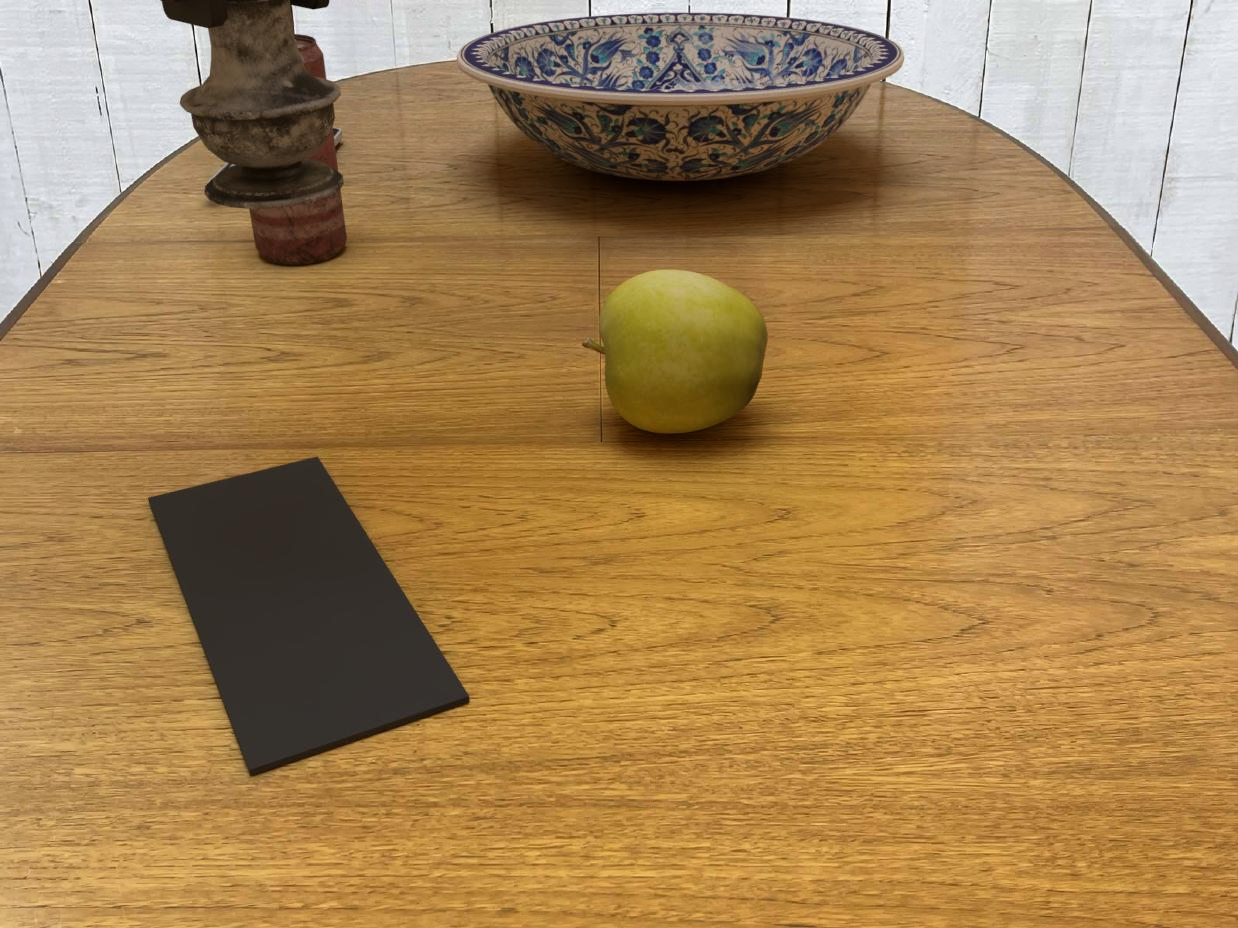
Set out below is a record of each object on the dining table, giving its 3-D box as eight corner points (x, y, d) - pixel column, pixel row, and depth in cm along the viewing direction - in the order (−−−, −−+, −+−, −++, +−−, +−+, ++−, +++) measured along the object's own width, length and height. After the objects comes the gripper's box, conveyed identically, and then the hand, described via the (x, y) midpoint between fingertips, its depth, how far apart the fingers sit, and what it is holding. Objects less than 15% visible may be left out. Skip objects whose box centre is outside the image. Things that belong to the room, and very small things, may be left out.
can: (239, 264, 84) (201, 49, 77) (282, 232, 90) (251, 28, 83) (322, 271, 83) (291, 53, 76) (361, 238, 88) (336, 32, 81)
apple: (585, 390, 67) (581, 249, 63) (755, 389, 67) (762, 247, 63) (581, 463, 61) (576, 310, 57) (769, 462, 61) (778, 308, 57)
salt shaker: (190, 174, 50) (129, -159, 44) (337, 157, 52) (297, -165, 46) (203, 219, 46) (136, -147, 40) (364, 199, 47) (324, -154, 41)
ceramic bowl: (858, 111, 116) (868, -3, 111) (930, 240, 87) (948, 93, 82) (489, 113, 117) (482, 0, 112) (436, 242, 88) (423, 97, 82)
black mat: (250, 776, 43) (248, 769, 42) (148, 502, 58) (147, 497, 58) (470, 702, 46) (469, 695, 46) (318, 461, 61) (317, 455, 61)
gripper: (309, -584, 44) (367, -27, 53) (-210, -680, 33) (-25, 36, 43) (451, -621, 39) (487, -7, 49) (-95, -745, 29) (83, 69, 38)
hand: (247, 7), depth 46 cm, fingers closed on salt shaker, 3 cm apart
